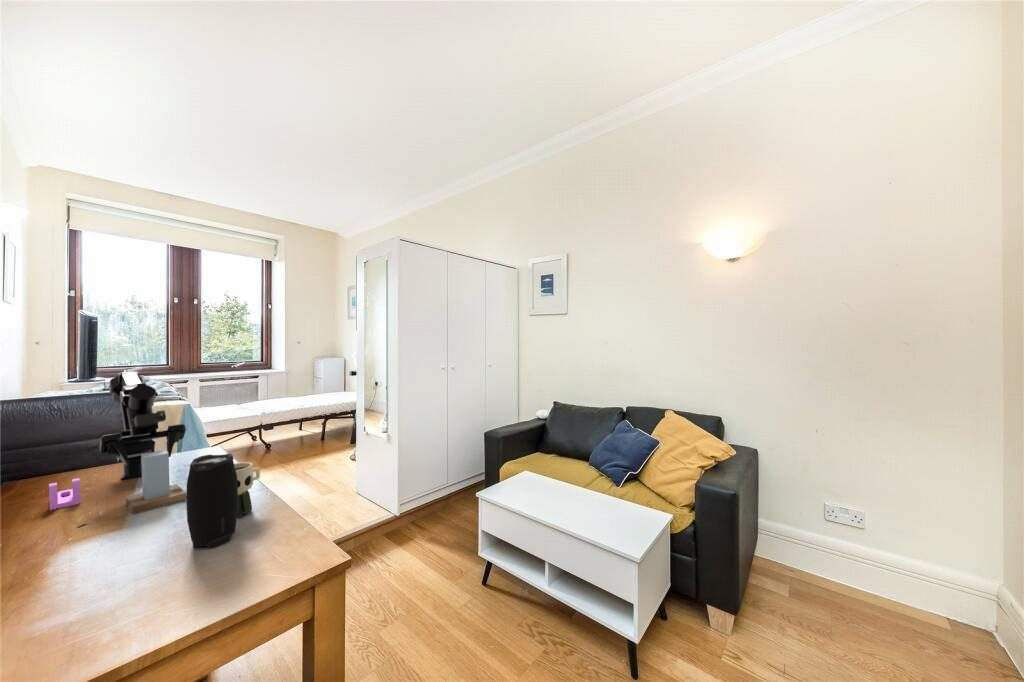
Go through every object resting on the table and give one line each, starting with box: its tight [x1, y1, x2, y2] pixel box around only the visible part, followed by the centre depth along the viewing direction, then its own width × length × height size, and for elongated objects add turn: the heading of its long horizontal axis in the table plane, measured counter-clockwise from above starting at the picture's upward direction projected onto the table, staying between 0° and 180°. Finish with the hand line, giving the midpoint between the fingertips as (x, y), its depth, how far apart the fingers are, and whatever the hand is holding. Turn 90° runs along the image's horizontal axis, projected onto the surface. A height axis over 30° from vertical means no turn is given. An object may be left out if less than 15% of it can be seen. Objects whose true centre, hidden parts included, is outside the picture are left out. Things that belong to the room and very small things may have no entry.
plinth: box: [125, 483, 186, 515], centre depth 108 cm, size 11×11×2 cm
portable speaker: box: [185, 453, 238, 549], centre depth 87 cm, size 9×9×20 cm
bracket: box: [48, 477, 82, 511], centre depth 109 cm, size 13×6×7 cm, turn 50°
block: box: [141, 449, 171, 500], centre depth 108 cm, size 5×5×12 cm
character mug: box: [234, 461, 261, 518], centre depth 100 cm, size 11×7×13 cm, turn 146°
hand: (149, 460), depth 113 cm, fingers open, 9 cm apart
